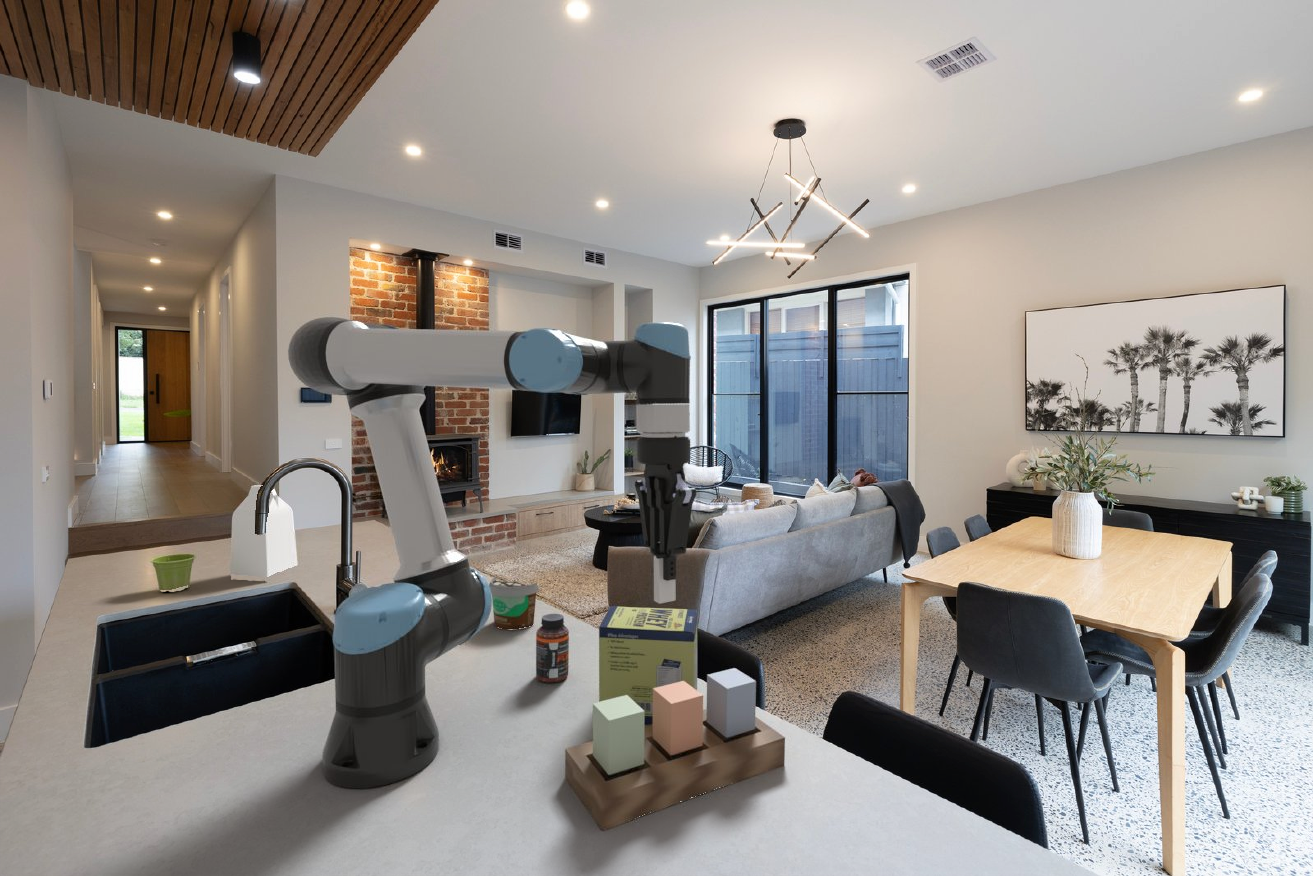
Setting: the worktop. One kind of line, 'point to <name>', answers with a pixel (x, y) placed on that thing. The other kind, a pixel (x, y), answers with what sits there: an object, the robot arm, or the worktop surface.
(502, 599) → the food container
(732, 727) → the slate upright cuboid
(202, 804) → the worktop surface
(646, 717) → the protein box
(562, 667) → the supplement bottle
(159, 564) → the plant pot
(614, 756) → the sage rectangular block
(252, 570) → the milk
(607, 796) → the walnut board
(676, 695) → the peach rectangular prism
